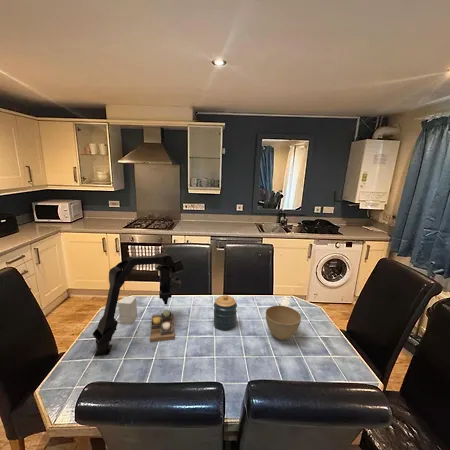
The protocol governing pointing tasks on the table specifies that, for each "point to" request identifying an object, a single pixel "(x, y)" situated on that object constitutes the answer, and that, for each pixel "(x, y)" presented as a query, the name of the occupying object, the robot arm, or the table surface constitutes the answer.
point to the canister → (225, 313)
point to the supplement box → (127, 310)
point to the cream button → (166, 326)
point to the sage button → (166, 313)
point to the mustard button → (156, 320)
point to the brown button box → (158, 331)
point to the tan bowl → (282, 321)
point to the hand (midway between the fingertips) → (166, 302)
